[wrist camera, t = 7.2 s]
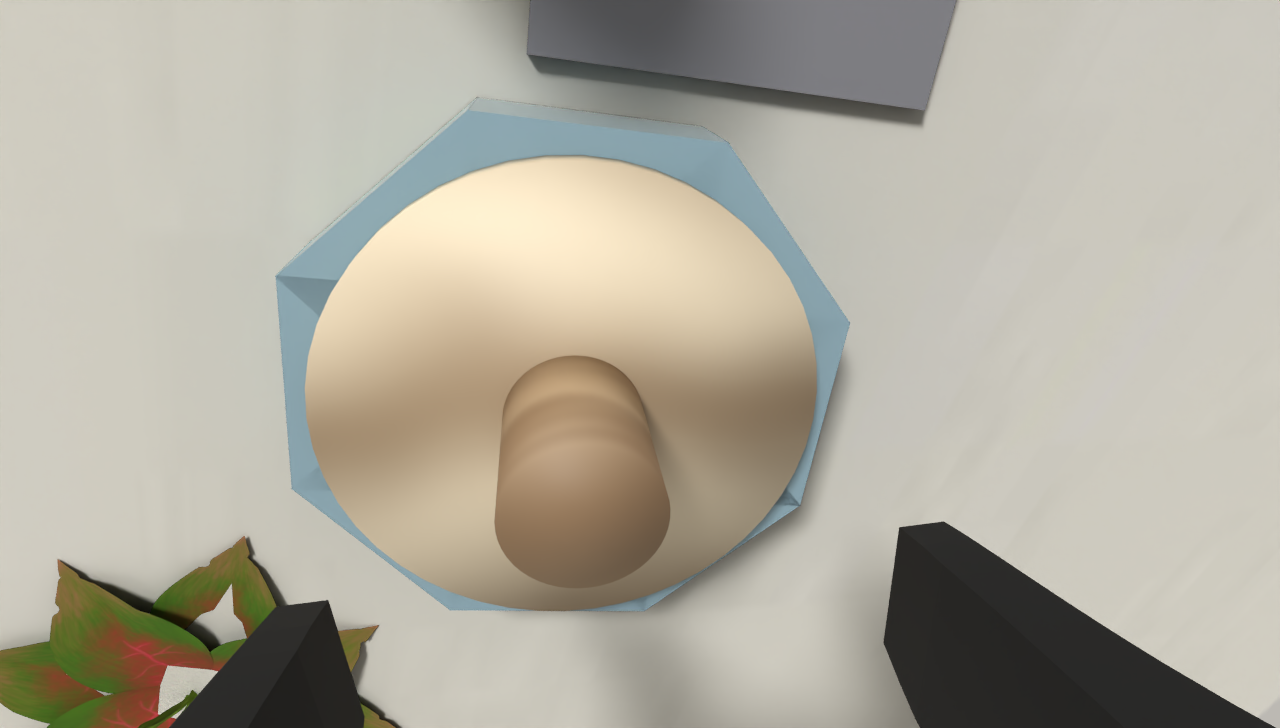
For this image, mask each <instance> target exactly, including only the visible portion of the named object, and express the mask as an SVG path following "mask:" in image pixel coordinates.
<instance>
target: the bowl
mask: <svg viewBox="0 0 1280 728" xmlns="http://www.w3.org/2000/svg"><path fill="white" fill-rule="evenodd" d="M544 155H587V156H595V157H603V158H611V159H619V160H623V161H626V162H630V163H634V164H638V165H641V166H645V167H649V168H653V169H655V170H658V171H660V172H663V173H665V174H667V175H670V176H672V177H674V178H677V179H679V180H682V181H684V182H686V183H688V184H690V185H691V186H693V187H695V188H696V189H698V190H700V191H701V192H703V193H705V194H706V195H708V196H710V197H711V198H713V199H715V200H716V201H717V202H719V203H720V204H721V205H722V206H724V207H725V208H726V209H727V210H729V211H730V212H731V213H732V214H733V215H735V216H736V217H737V218H738V219H740V220H741V221H742V222H743V223H744V224H745V225H746V226H747V227H748V228H749V229H750V230H751V231H752V232H753V233H754V234H755V235H756V236H757V237H758V238H759V239H760V241H761V242H762V243H763V244H764V245H765V246H766V247H767V248H768V249H769V250H770V251H771V252H772V254H773V255H774V257H775V258H776V259H777V261H778V262H779V264H780V265H781V267H782V268H783V270H784V271H785V273H786V274H787V276H788V277H789V278H790V280H791V282H792V284H793V286H794V288H795V291H796V293H797V295H798V297H799V299H800V301H801V303H802V305H803V307H804V311H805V314H806V317H807V320H808V323H809V327H810V330H811V333H812V337H813V344H814V350H815V357H816V363H817V394H816V402H815V409H814V417H813V422H812V425H811V429H810V433H809V436H808V440H807V444H806V447H805V449H804V452H803V454H802V456H801V459H800V461H799V463H798V466H797V468H796V470H795V473H794V474H793V476H792V478H791V479H790V481H789V483H788V485H787V486H786V488H785V490H784V491H783V493H782V495H781V496H780V498H779V499H778V500H777V502H776V503H775V504H774V506H773V507H772V508H771V510H770V511H769V512H768V514H767V515H766V516H765V518H764V519H763V520H762V521H761V522H760V523H759V524H758V525H757V526H756V527H755V528H754V529H753V530H752V531H751V532H750V533H749V534H748V535H747V536H746V537H745V538H744V539H743V540H742V541H741V542H739V543H738V544H737V545H736V546H735V547H734V548H732V549H731V550H730V551H729V552H728V553H726V554H725V555H724V556H722V557H721V558H720V559H722V558H723V557H725V556H726V555H728V554H729V553H731V552H732V551H734V550H735V549H737V548H738V547H740V546H741V545H743V544H744V543H745V542H747V541H748V540H750V539H751V538H753V537H754V536H756V535H757V534H759V533H760V532H762V531H763V530H765V529H766V528H768V527H769V526H771V525H772V524H774V523H775V522H776V521H778V520H779V519H781V518H782V517H784V516H785V515H787V514H788V513H790V512H791V511H793V510H794V509H796V508H797V507H799V506H800V504H801V500H802V496H803V493H804V489H805V485H806V482H807V478H808V474H809V471H810V467H811V463H812V460H813V456H814V452H815V449H816V445H817V442H818V438H819V434H820V431H821V427H822V423H823V420H824V416H825V412H826V409H827V405H828V401H829V398H830V394H831V391H832V387H833V383H834V380H835V376H836V372H837V369H838V365H839V361H840V358H841V354H842V350H843V347H844V343H845V339H846V336H847V332H848V329H849V325H850V322H849V321H848V319H847V318H846V316H845V315H844V313H843V312H842V310H841V309H840V307H839V306H838V305H837V303H836V302H835V300H834V299H833V297H832V296H831V294H830V293H829V291H828V290H827V288H826V287H825V285H824V284H823V282H822V281H821V279H820V278H819V276H818V275H817V273H816V272H815V270H814V269H813V267H812V266H811V264H810V263H809V262H808V260H807V259H806V257H805V256H804V254H803V253H802V251H801V250H800V248H799V247H798V245H797V244H796V242H795V241H794V239H793V238H792V236H791V235H790V233H789V232H788V230H787V229H786V227H785V226H784V224H783V223H782V221H781V220H780V219H779V217H778V216H777V214H776V213H775V211H774V210H773V208H772V207H771V205H770V204H769V202H768V201H767V199H766V198H765V196H764V195H763V193H762V192H761V190H760V189H759V187H758V186H757V184H756V183H755V181H754V180H753V178H752V177H751V176H750V174H749V173H748V171H747V170H746V168H745V167H744V165H743V164H742V162H741V161H740V159H739V158H738V156H737V155H736V153H735V152H734V150H733V149H732V147H731V146H730V144H729V143H728V142H727V141H725V140H724V139H722V138H720V137H719V136H717V135H715V134H714V133H712V132H711V131H709V130H707V129H706V128H704V127H702V126H695V125H688V124H680V123H672V122H664V121H657V120H649V119H641V118H633V117H626V116H618V115H610V114H602V113H595V112H587V111H579V110H571V109H564V108H556V107H548V106H540V105H533V104H525V103H517V102H509V101H502V100H494V99H486V98H478V97H476V98H475V100H473V101H472V102H471V103H470V104H469V105H468V106H466V107H465V108H464V109H463V110H462V111H461V112H460V113H458V114H457V115H456V116H455V117H454V118H453V119H451V120H450V121H449V122H448V123H447V124H446V125H445V126H443V127H442V128H441V129H440V130H439V131H438V132H436V133H435V134H434V135H433V136H432V137H431V138H430V139H428V140H427V141H426V142H425V143H424V144H423V145H421V146H420V147H419V148H418V149H417V150H416V151H415V152H413V153H412V154H411V155H410V156H409V157H408V158H406V159H405V160H404V161H403V162H402V163H401V164H400V165H398V166H397V167H396V168H395V169H394V170H393V171H391V172H390V173H389V174H388V175H387V176H386V177H385V178H383V179H382V180H381V181H380V182H379V183H378V184H376V185H375V186H374V187H373V188H372V189H371V190H370V191H368V192H367V193H366V194H365V195H364V196H363V197H361V198H360V199H359V200H358V201H357V202H356V203H355V204H353V205H352V206H351V207H350V208H349V209H348V210H346V211H345V212H344V213H343V214H342V215H341V216H340V217H338V218H337V219H336V220H335V221H334V222H333V223H331V224H330V225H329V226H328V227H327V228H326V229H325V230H323V231H322V232H321V233H320V234H319V235H318V236H316V237H315V238H314V239H313V240H312V241H310V242H309V243H308V244H307V245H306V246H305V247H304V248H303V249H302V250H301V251H300V252H299V253H298V254H297V255H296V256H295V257H294V258H293V259H292V260H291V261H290V262H289V263H288V264H287V265H286V266H285V267H284V268H283V269H282V270H281V271H280V272H279V273H278V274H277V275H276V276H275V277H276V286H277V299H278V312H279V325H280V339H281V352H282V365H283V378H284V391H285V405H286V418H287V431H288V444H289V457H290V471H291V484H292V488H291V489H293V490H294V491H295V492H297V493H298V494H299V495H300V496H302V497H303V498H304V499H306V500H307V501H308V502H310V503H311V504H312V505H313V506H315V507H316V508H317V509H319V510H320V511H321V512H323V513H324V514H325V515H327V516H328V517H329V518H330V519H332V520H333V521H334V522H336V523H337V524H338V525H340V526H341V527H342V528H344V529H345V530H346V531H347V532H349V533H350V534H351V535H353V536H354V537H355V538H357V539H358V540H359V541H360V542H362V543H363V544H364V545H366V546H367V547H368V548H370V549H371V550H372V551H374V552H375V553H376V554H377V555H379V556H380V557H381V558H383V559H384V560H385V561H387V562H388V563H389V564H390V565H392V566H393V567H394V568H396V569H397V570H398V571H400V572H401V573H402V574H404V575H405V576H406V577H407V578H409V579H410V580H411V581H413V582H414V583H415V584H417V585H418V586H419V587H420V588H422V589H423V590H424V591H426V592H427V593H428V594H430V595H431V596H432V597H434V598H435V599H436V600H437V601H439V602H440V603H441V604H443V605H444V606H445V607H447V608H448V609H449V610H516V611H534V610H525V609H516V608H507V607H503V606H498V605H493V604H489V603H484V602H480V601H476V600H473V599H470V598H467V597H464V596H461V595H458V594H455V593H452V592H450V591H447V590H445V589H443V588H441V587H439V586H436V585H434V584H432V583H430V582H428V581H426V580H424V579H422V578H420V577H419V576H417V575H415V574H414V573H412V572H410V571H409V570H407V569H405V568H404V567H402V566H400V565H399V564H398V563H396V562H395V561H394V560H393V559H391V558H390V557H389V556H387V555H386V554H385V553H384V552H382V551H381V550H380V549H378V548H377V547H376V546H375V545H374V544H373V543H372V542H371V541H370V540H369V539H368V538H367V537H366V536H365V535H364V534H363V533H362V532H361V531H360V530H359V529H358V528H357V527H356V526H355V524H354V523H353V522H352V520H351V519H350V518H349V517H348V515H347V514H346V513H345V511H344V510H343V509H342V507H341V506H340V505H339V503H338V502H337V500H336V498H335V496H334V495H333V493H332V491H331V489H330V487H329V486H328V484H327V482H326V480H325V478H324V477H323V474H322V471H321V469H320V466H319V464H318V461H317V458H316V456H315V453H314V450H313V447H312V442H311V438H310V433H309V428H308V424H307V419H306V401H305V381H306V371H307V362H308V355H309V351H310V347H311V343H312V340H313V336H314V332H315V329H316V325H317V323H318V320H319V318H320V316H321V314H322V311H323V309H324V307H325V305H326V302H327V300H328V298H329V296H330V294H331V292H332V290H333V289H334V287H335V286H336V284H337V283H338V281H339V280H340V278H341V277H342V275H343V274H344V272H345V270H346V269H347V267H348V266H349V264H350V263H351V262H352V260H353V259H354V258H355V256H356V255H357V254H358V253H359V251H360V250H361V249H362V248H363V247H364V246H365V245H366V244H367V242H368V241H369V240H370V239H371V238H372V237H373V236H374V235H375V233H376V232H377V231H378V230H379V229H380V228H381V227H382V226H383V225H384V224H386V223H387V222H388V221H389V220H390V219H392V218H393V217H394V216H395V215H396V214H398V213H399V212H400V211H401V210H402V209H404V208H405V207H406V206H407V205H408V204H410V203H412V202H413V201H415V200H417V199H418V198H420V197H421V196H423V195H425V194H426V193H428V192H429V191H431V190H433V189H434V188H436V187H438V186H439V185H442V184H444V183H446V182H448V181H451V180H453V179H455V178H457V177H460V176H462V175H464V174H467V173H469V172H471V171H474V170H477V169H481V168H484V167H488V166H491V165H495V164H498V163H502V162H505V161H509V160H516V159H523V158H530V157H537V156H544ZM720 559H718V560H717V561H719V560H720ZM717 561H715V562H714V563H716V562H717ZM714 563H712V564H711V565H709V566H708V567H706V568H705V569H703V570H702V571H700V572H698V573H696V574H694V575H692V576H691V577H689V578H687V579H685V580H683V581H681V582H679V583H677V584H675V585H673V586H670V587H668V588H665V589H663V590H661V591H658V592H656V593H653V594H651V595H648V596H644V597H641V598H638V599H634V600H631V601H627V602H624V603H620V604H614V605H609V606H604V607H599V608H593V609H582V610H570V611H645V610H647V609H648V608H650V607H651V606H653V605H654V604H655V603H657V602H658V601H660V600H661V599H663V598H664V597H666V596H667V595H669V594H670V593H672V592H673V591H675V590H676V589H678V588H679V587H681V586H682V585H684V584H685V583H686V582H688V581H689V580H691V579H692V578H694V577H695V576H697V575H698V574H700V573H701V572H703V571H704V570H706V569H707V568H709V567H710V566H712V565H713V564H714Z"/></svg>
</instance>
